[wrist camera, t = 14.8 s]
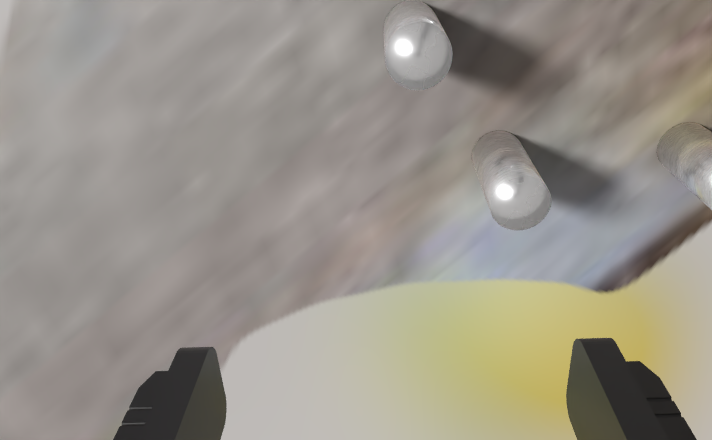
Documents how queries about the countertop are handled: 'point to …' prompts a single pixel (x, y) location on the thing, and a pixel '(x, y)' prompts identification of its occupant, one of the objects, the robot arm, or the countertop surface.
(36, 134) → the countertop surface
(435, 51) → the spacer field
